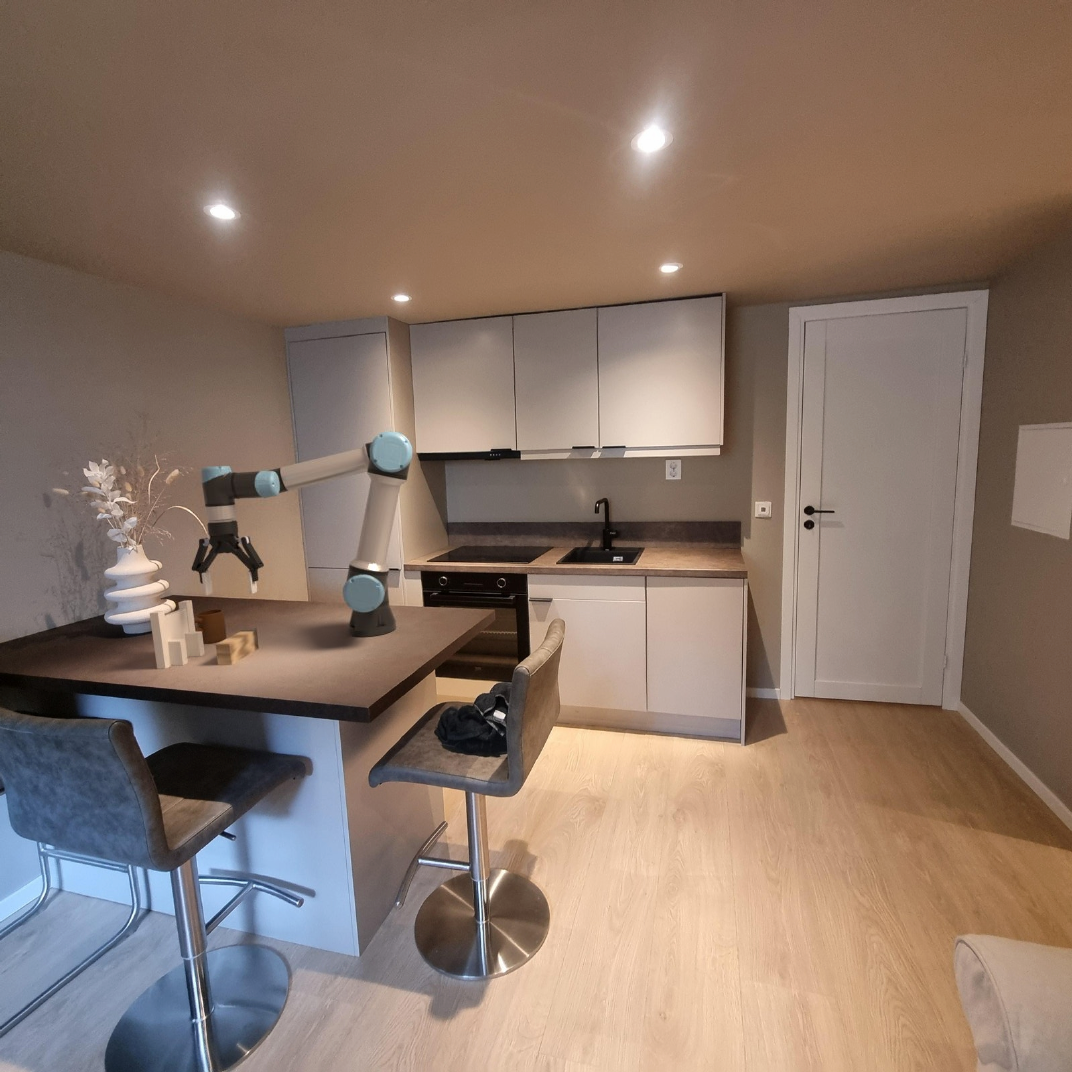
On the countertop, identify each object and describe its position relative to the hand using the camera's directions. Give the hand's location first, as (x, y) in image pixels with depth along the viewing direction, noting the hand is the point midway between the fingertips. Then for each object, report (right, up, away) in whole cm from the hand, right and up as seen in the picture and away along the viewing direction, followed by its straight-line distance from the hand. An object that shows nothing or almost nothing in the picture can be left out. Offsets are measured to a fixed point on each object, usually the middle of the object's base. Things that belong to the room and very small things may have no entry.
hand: (231, 593), depth 164 cm
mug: (-17, -18, +17) cm, 30 cm away
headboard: (-14, -19, +1) cm, 24 cm away
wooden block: (+1, -19, +2) cm, 19 cm away
